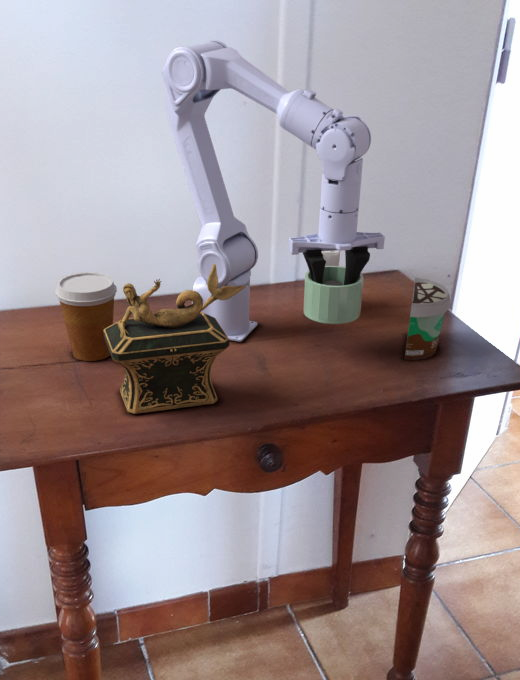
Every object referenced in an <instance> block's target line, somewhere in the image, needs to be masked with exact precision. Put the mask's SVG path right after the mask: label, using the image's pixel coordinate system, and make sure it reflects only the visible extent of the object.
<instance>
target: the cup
mask: <svg viewBox="0 0 520 680" xmlns="http://www.w3.org/2000/svg"><path fill="white" fill-rule="evenodd" d="M345 268H346V266H342V265H339V266H325V269H324V274H323V284H320V283H316V282H314V281H312V279H311V275H310V271H309V269H308V270H307V271H306V272H305V273H304V291H303V309H302V310H303V311H302V312H303V314H304V316H305V317H306V318H308V319H309V320H312V321H313V322H317V323H321V324H327V325H328V324H329V325H341V324H343V325H344V324H348V323H352V322H355V321H356V320H358V319H359V318H360V316H361V312H362V304H363V303H362V301H363V292H364V291H363V289H364V281H365V280H364V274H363V273H362V272H361V273H360V275H359V277H358V280H357V282H356V283H354V284H350V285H344V279H345ZM330 280H335V281H339V282H341V284H342V285H341V286H330V285H325V282H326V281H330Z"/></svg>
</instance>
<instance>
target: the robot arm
mask: <svg viewBox="0 0 520 680" xmlns="http://www.w3.org/2000/svg"><path fill="white" fill-rule="evenodd" d="M161 74H162V78H163V81H164V84H165V87H166V93H165V94H166V99H165V100H166V101H165V112H166V117H167V121H168V123H169V127H170V130H171V133H172V137H173V141H174V143H175V146H176V149H177V152H178V156H179V159H180V162H181V166H182V168H183V171H184V175H185V177H186V182H187V184H188V188H189V190H190V194H191V198H192V200H193V204H194V206H195V209H196V214H197V216H198V219H199V223H200V225H201V229H200V232H199V235H198V237H197V240H196V243H195V246H196V250H197V253H198V254H197V255H198V260H197V266H198V270H199V273H200V276H198V277H197V278H196V279H195V281H194V283H193V286H192V290H193V291H196V292H198V293H199V294H200V295H201V297H202V299H203V305H204V303H205V302H206V301H207V300H208V298H209V297H210V296H211V293H210V292H209V290H208V287H207V280H208V277H209V275H210V272H211V270H212V267H213V264H214V263H215V264H216V269H217V277H218V287H217V288H218V289H220V288H222V287H224V286H246V287H245V288H244V289H242V290H241V291H239V292H238V293H237V294H235V295H234V296H232V297H231V298H229V299H227V300H219V299H217V300H215V301H214V302H212V303H211V304H210V305H208V306H207V307H206V308H205V309H204V310H203V311H201V312H203V313H205V314H207V315H210V316H212V317H214V318H216V320H217V321H218V323H219V324H220V326H221V327H222V329H223V331H224V332H225V334H226V335H227V337H228V338H229V341H233V342H239V343H241V342H243V341H244V340H245V339H246V338H247V337H248V336H249V335H250V333H252V332H253V330H254V329H255V328H257V326H258V322H257V321H253V320H250V318H251V317H250V311H251V310H250V309H251V307H250V305H251V276H252V269H253V268H254V267H256V265H257V263H258V260H259V250H258V246H257V245H256V242H255V241H254V240H253V239H252V237H251V236H250V234H249V232H248V230H247V226H246V224H245V223H244V222H242V221H241V220H239V219H238V218H237V217H236V216H235V215H234V211H233V208H232V205H231V202H230V201H231V200H230V197H229V194H228V191H227V188H226V185H225V181H224V178H223V175H222V171H221V168H220V164H219V160H218V157H217V155H216V154H217V153H216V152H215V151H216V150H215V148H214V144H213V141H212V140H213V139H212V138H211V134H210V131H209V127H208V123H207V121H206V117H205V116H206V112H207V111H208V108H209V107H210V105H211V103H212V100H213V99H214V97H215V96H216V95H217V94H218V93H219V92H220V91H221V90H228V89H231V90H234V91H236V92H237V93H239V94H241V95H243V96H245V97H246V98H248V99H250V100H252V101H253V102H255V103H256V104H259V105H260V106H262V107H264V108H266V109H268V110H269V111H271V112H273V113H275V114H276V115H277V119H278V123H279V126H280V127H281V129H283V130H284V131H286V132H288V133H289V134H291V135H293V136H294V137H296V138H297V139H299V140H300V141H302V142H303V143H305V144H306V145H308V146H309V147H310V148H312V149H314V150H315V151H316V153H317V156H318V158H319V160H320V162H321V164H322V172H321V184H320V186H321V187H320V202H319V216H318V232H317V233H312V234H307V235H302V236H296V237H289V238H288V251H289V253H290V254H291V255H292V256H294V255H296V256H297V255H299V254H302V256H303V258H304V260H305V262H306V265H307V268H308V270H309V271H310V275H311V279H312V281H314V282H316V283H320V284H323V274H324V269H325V264H326V260H325V259H324V258H323V254H322V251H335V250H340V252H342V251H344V257H345V267H346V268H345V279H344V285H350V284H354V283H356V282H357V280H358V277H359V275H360V273H361V274H362V272H363V270H364V268H365V267H366V265H367V264H368V263H369V261H370V260H371V259H370V258H371V253H370V252H369V249H376V250H384V248H385V239H386V236H385V235H384V234H382V232H363V231H358V221H359V210H360V200H361V189H362V174H363V163H364V158H363V156H365V155H366V154H367V153H368V151H369V149H370V147H371V142H372V134H371V131H370V129H369V127H368V125H367V123H365V121H364V120H362V119H361V117H359V116H358V115H347V116H344V115H343V114H344V112H343V111H342V110H341V109H339V108H336V109H334V108H332V107H330V106H329V105H327V104H325V102H323V101H321V100H319V99H318V98H317V97H316V96H317V93H316V92H315V91H314V90H312V89H311V88H309V89H305V90H304V89H302V88H298V89H295V90H293V91H289V90H288V89H287V88H285V87H284V86H282V85H281V84H280V83H278V82H277V81H276V80H274V79H273V78H271V77H270V76H269V75H267V74H266V73H265V72H263V71H262V70H260V69H259V68H258V67H256V65H253V64H252V63H251V62H249V61H248V60H247V59H246V58H245V57H243V56H242V55H241V54H240V53H239V51H238V50H237V49H235V48H234V47H230V46H227V45H226V43H224V42H223V41H221V40H217V39H212V40H211V39H210V40H208V41H206V42H202V43H199V44H194V45H193V44H192V45H188V46H185V45H184V46H183V45H182V46H178V47H176V48H174V49H173V50H172V51H171V52H170V53H169V55H168V56H167V59H166V62H165V64H164V66H163V68H162V70H161ZM192 304H193V302H192V301H191V305H192Z"/></svg>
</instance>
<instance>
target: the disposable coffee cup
mask: <svg viewBox="0 0 520 680" xmlns="http://www.w3.org/2000/svg"><path fill="white" fill-rule="evenodd" d="M117 291H118V288H117V286H116V285H115V283H114V280H113V278H112V277H111V276H110V275H107V274H105V273H100V272H93V271H91V272H89V271H87V272H85V271H84V272H77V273H75V272H74V273H71V274H68V275H65V276H63V277H61V278H60V279H58V281H57V284H56V288H55V291H54V293H55V296H56V297H57V299H58V301H59V305H60V308H61V313H62V316H63V319H64V324H65V329H66V333H67V336H68V341H69V344H70V348H71V353H72V355H73V358H75V359H77V360H80V361H84V362H96V361H97V362H98V361H102V360H105V359H106V358H109V357H110V356H111V354H110V351H109V349H108V346H107V343H106V341H105V338H104V334H103V330H104V329H105V328H107V327H109V326H111V325H112V324H114V312H115V311H114V310H115V297H116V293H117Z"/></svg>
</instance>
